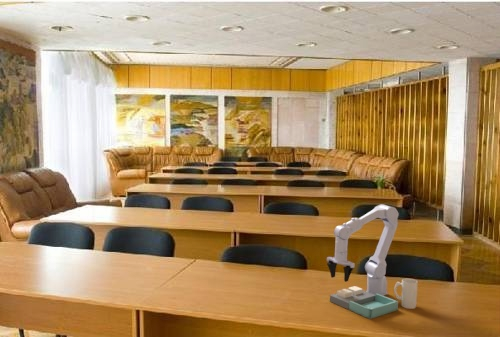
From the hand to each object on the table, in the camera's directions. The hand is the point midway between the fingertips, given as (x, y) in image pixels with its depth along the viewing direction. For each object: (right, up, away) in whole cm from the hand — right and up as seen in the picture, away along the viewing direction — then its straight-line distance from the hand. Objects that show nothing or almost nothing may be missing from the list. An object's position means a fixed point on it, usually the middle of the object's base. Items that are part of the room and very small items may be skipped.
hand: (339, 279), depth 226 cm
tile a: (+7, -6, 0) cm, 10 cm away
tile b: (+2, -7, -4) cm, 8 cm away
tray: (+13, -11, -14) cm, 21 cm away
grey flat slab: (+6, -10, -4) cm, 12 cm away
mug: (+28, -10, -9) cm, 31 cm away
